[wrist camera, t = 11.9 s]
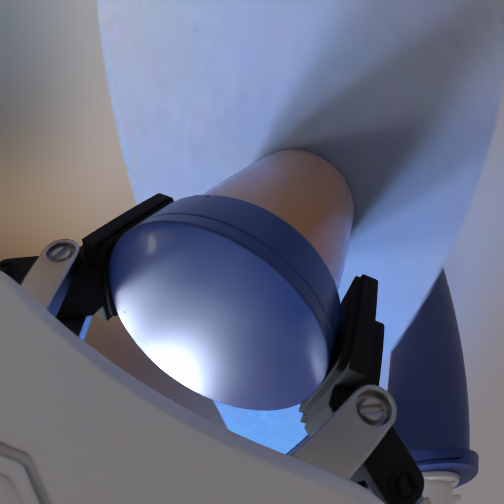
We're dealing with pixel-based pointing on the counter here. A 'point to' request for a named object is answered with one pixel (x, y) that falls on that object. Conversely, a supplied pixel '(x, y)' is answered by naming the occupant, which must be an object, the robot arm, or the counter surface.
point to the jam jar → (300, 200)
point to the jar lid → (228, 301)
